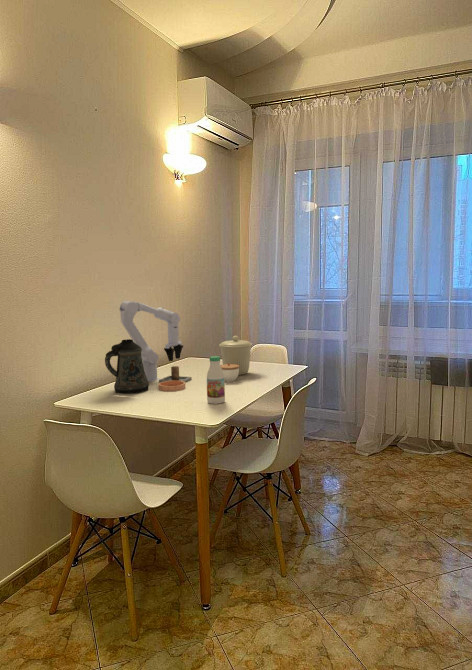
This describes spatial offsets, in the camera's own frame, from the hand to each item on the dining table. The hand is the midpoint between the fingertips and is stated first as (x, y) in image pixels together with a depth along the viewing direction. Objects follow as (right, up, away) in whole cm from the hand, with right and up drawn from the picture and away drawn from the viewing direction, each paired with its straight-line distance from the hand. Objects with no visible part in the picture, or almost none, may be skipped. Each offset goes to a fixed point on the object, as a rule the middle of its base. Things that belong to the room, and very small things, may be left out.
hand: (174, 359), depth 280 cm
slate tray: (+2, -11, -13) cm, 17 cm away
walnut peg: (+2, -10, -13) cm, 16 cm away
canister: (+34, -8, +6) cm, 35 cm away
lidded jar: (+30, -10, -11) cm, 33 cm away
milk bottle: (+25, -16, -54) cm, 62 cm away
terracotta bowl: (+2, -13, -28) cm, 31 cm away
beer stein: (-18, -14, -31) cm, 38 cm away
